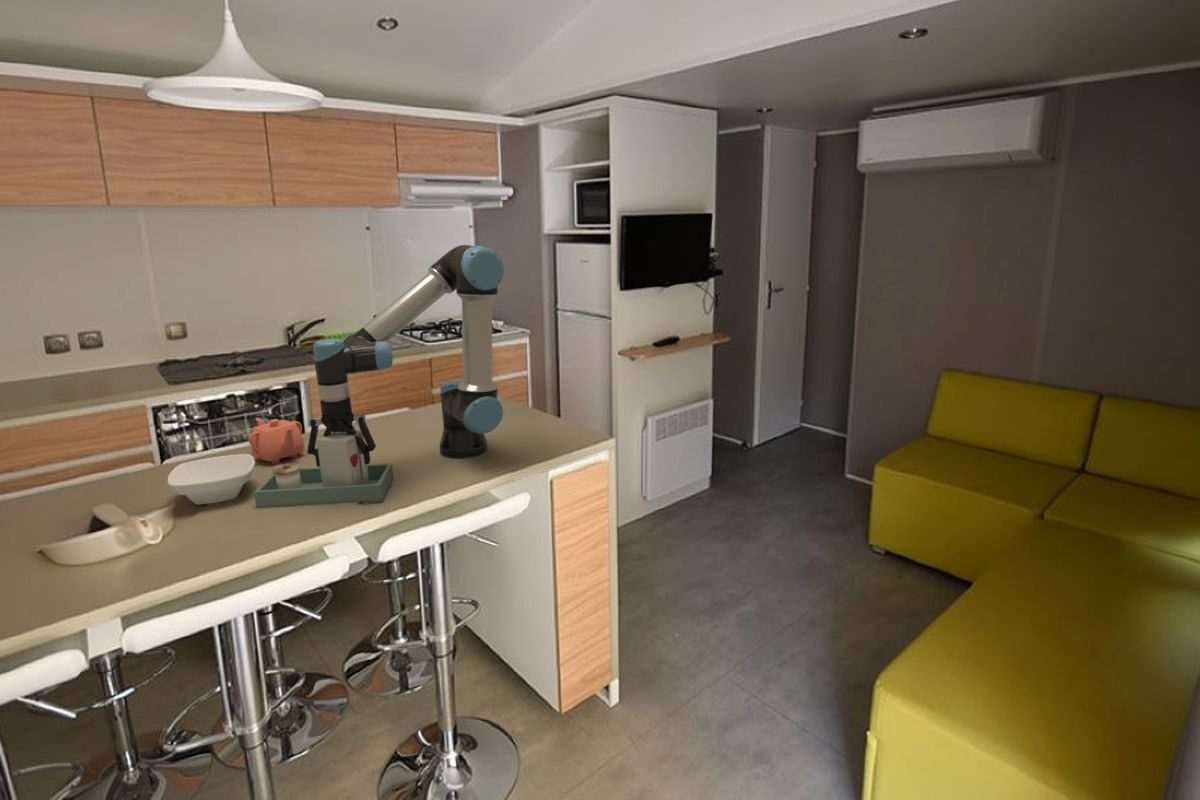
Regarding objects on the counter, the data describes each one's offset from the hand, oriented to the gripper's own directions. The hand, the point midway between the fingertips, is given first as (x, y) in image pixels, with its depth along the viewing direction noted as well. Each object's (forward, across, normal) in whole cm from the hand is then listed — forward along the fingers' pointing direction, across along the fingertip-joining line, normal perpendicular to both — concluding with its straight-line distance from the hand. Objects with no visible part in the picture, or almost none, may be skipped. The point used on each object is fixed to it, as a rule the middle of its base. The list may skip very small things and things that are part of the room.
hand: (345, 476), depth 184 cm
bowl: (+5, +35, -2) cm, 36 cm away
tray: (+5, +5, 0) cm, 7 cm away
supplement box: (+3, 0, 0) cm, 3 cm away
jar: (+4, +15, 0) cm, 16 cm away
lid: (-3, +15, 0) cm, 15 cm away
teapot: (+5, +29, -32) cm, 44 cm away
